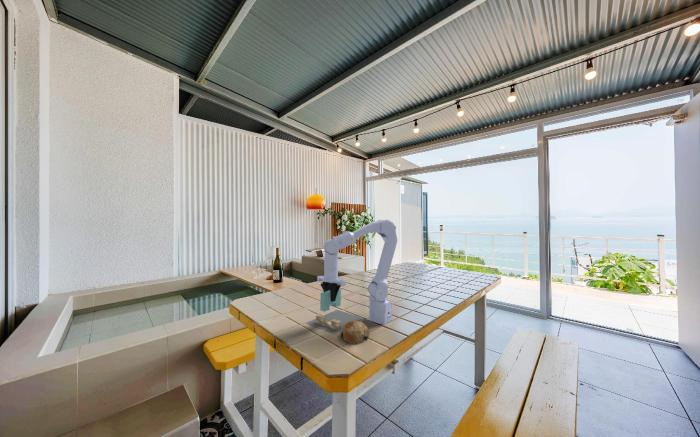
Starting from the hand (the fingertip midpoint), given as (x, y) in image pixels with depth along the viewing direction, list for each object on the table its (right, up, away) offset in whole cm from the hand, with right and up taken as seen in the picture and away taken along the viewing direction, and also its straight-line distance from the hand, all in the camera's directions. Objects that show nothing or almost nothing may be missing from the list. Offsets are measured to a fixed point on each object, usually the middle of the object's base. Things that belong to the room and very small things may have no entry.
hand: (330, 300), depth 103 cm
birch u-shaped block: (-1, -9, -3) cm, 10 cm away
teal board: (0, -3, 0) cm, 3 cm away
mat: (+2, -10, +3) cm, 11 cm away
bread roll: (+10, -10, -12) cm, 19 cm away
